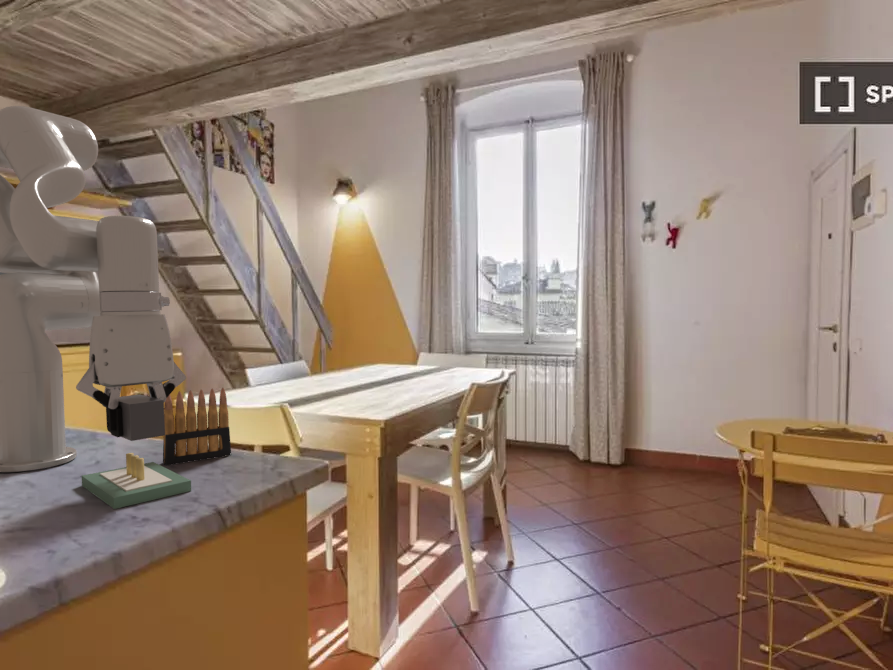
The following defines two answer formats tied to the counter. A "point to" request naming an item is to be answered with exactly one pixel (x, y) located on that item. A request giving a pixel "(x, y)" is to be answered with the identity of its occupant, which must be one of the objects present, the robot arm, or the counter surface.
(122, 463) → the counter surface
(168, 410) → the ammunition clip
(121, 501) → the header board
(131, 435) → the block
